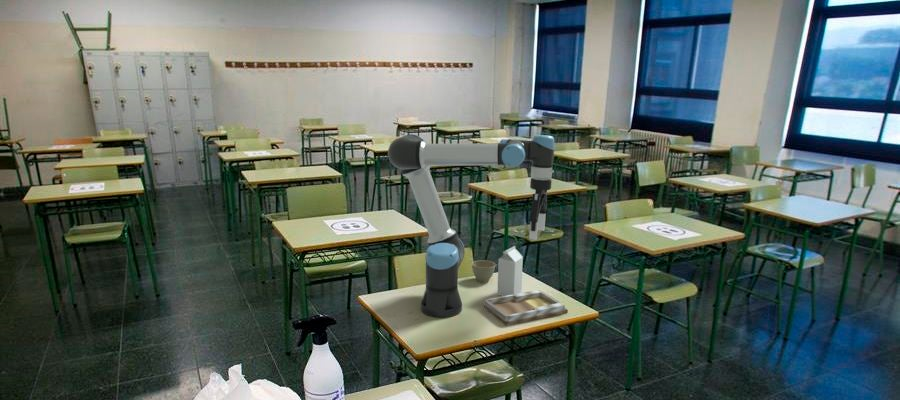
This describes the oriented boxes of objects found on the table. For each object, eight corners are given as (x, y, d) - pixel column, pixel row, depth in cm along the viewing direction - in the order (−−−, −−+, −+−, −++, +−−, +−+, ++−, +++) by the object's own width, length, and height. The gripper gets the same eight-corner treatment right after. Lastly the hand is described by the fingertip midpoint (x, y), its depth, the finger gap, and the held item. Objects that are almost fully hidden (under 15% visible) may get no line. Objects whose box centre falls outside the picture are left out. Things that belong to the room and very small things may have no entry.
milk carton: (521, 293, 206) (523, 247, 202) (513, 298, 200) (515, 251, 196) (505, 289, 209) (506, 244, 205) (497, 294, 203) (498, 248, 199)
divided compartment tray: (505, 325, 177) (506, 316, 176) (483, 307, 191) (483, 299, 191) (567, 312, 188) (568, 304, 187) (541, 296, 202) (542, 289, 201)
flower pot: (493, 285, 214) (494, 268, 212) (469, 283, 215) (469, 266, 214) (496, 276, 223) (496, 261, 222) (473, 274, 225) (473, 259, 224)
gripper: (544, 184, 175) (540, 244, 179) (557, 174, 198) (553, 227, 202) (522, 182, 178) (518, 241, 182) (538, 172, 200) (534, 225, 205)
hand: (536, 234), depth 192 cm, fingers open, 13 cm apart
